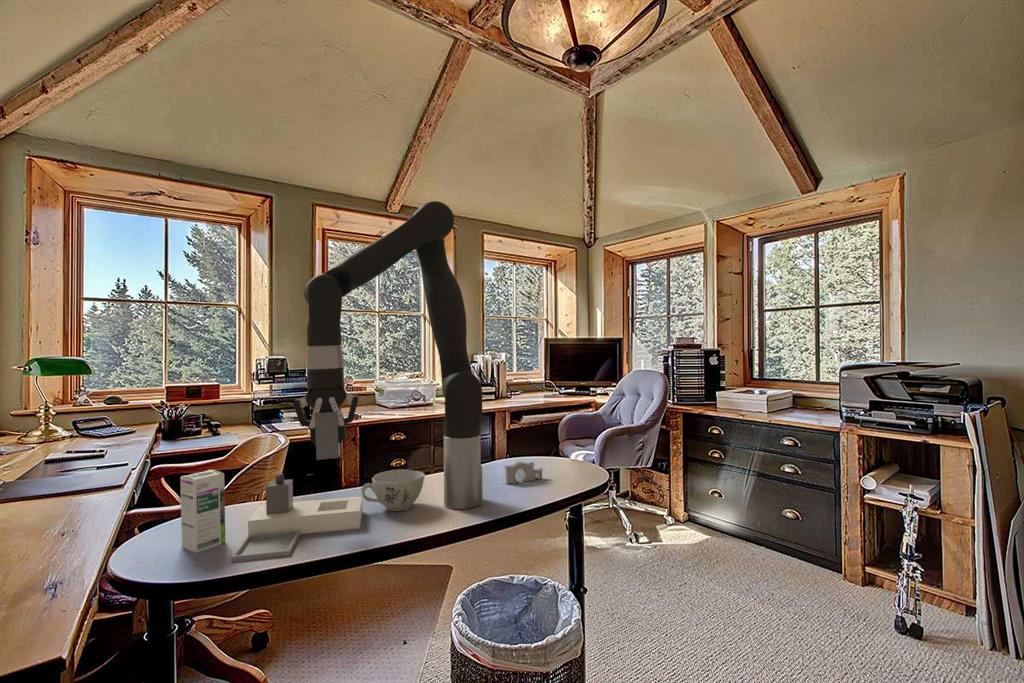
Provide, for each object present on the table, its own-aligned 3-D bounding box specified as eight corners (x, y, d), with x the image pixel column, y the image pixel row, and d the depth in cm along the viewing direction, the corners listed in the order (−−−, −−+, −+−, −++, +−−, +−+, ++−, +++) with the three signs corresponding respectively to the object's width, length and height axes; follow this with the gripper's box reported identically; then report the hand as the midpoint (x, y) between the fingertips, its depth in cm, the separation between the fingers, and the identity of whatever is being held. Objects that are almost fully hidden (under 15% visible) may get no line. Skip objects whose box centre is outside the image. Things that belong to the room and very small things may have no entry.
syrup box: (195, 554, 91) (194, 479, 91) (180, 547, 94) (179, 474, 94) (225, 543, 96) (225, 472, 96) (211, 537, 99) (210, 468, 99)
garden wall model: (540, 477, 141) (540, 458, 141) (543, 479, 139) (543, 459, 139) (504, 483, 136) (504, 463, 136) (506, 485, 134) (506, 464, 134)
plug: (340, 453, 107) (338, 402, 107) (338, 457, 103) (336, 404, 103) (319, 455, 106) (317, 403, 106) (316, 459, 102) (314, 406, 102)
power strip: (362, 513, 113) (362, 463, 113) (359, 529, 103) (359, 475, 103) (261, 522, 107) (260, 470, 107) (248, 540, 98) (247, 483, 98)
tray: (299, 536, 100) (299, 530, 100) (289, 556, 90) (289, 550, 90) (247, 541, 97) (247, 535, 97) (231, 563, 88) (231, 556, 88)
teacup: (418, 496, 125) (418, 466, 125) (430, 511, 113) (430, 478, 113) (358, 504, 119) (358, 472, 119) (364, 521, 107) (364, 486, 107)
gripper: (360, 364, 110) (362, 437, 110) (293, 367, 106) (296, 443, 106) (358, 365, 103) (361, 444, 103) (286, 369, 99) (290, 450, 99)
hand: (328, 443), depth 105 cm, fingers closed on plug, 4 cm apart
